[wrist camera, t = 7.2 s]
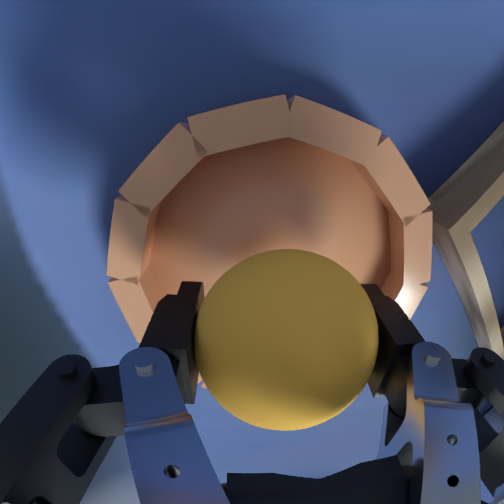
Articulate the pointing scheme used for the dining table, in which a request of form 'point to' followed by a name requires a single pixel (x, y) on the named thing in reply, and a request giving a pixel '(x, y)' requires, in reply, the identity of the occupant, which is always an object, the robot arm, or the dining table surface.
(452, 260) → the corral
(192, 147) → the bowl
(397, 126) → the dining table surface
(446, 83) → the dining table surface
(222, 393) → the ball
